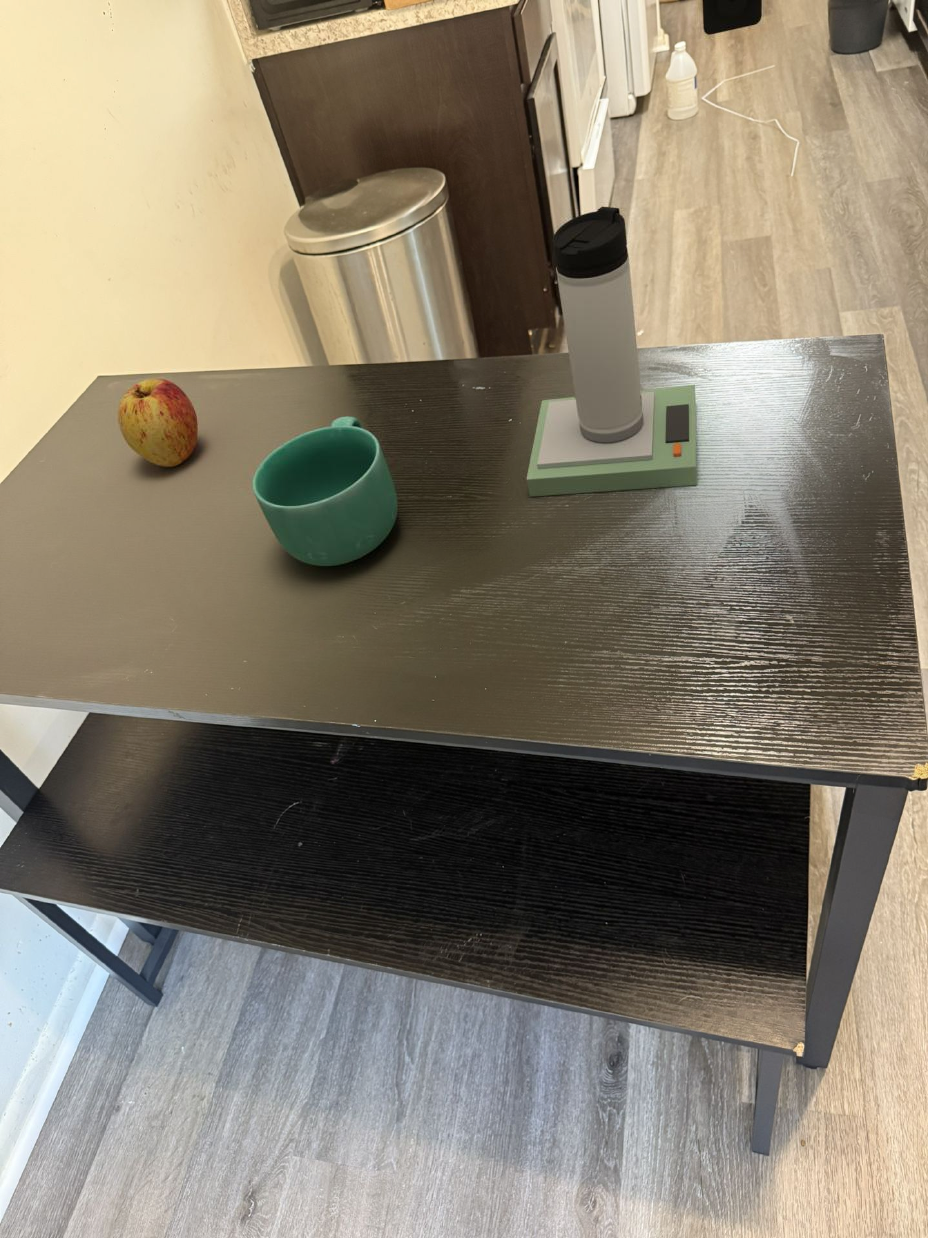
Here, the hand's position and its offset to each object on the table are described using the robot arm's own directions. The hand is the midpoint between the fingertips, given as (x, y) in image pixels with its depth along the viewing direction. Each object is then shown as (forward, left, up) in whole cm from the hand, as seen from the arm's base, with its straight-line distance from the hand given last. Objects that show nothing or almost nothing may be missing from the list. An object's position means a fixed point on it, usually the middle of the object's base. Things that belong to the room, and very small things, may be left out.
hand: (729, 8), depth 53 cm
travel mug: (+11, -9, -35) cm, 38 cm away
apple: (+65, -14, -38) cm, 77 cm away
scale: (+11, -8, -38) cm, 40 cm away
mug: (+37, +2, -38) cm, 53 cm away
